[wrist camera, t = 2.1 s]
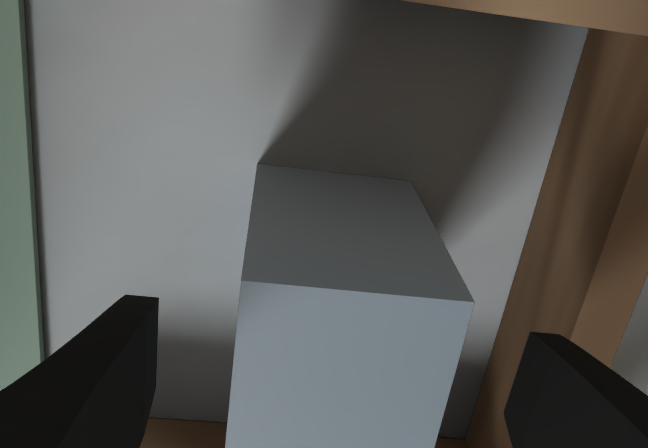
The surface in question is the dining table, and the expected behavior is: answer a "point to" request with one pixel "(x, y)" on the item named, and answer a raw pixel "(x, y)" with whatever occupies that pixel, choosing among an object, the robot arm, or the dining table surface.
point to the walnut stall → (557, 216)
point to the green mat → (17, 207)
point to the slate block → (343, 316)
